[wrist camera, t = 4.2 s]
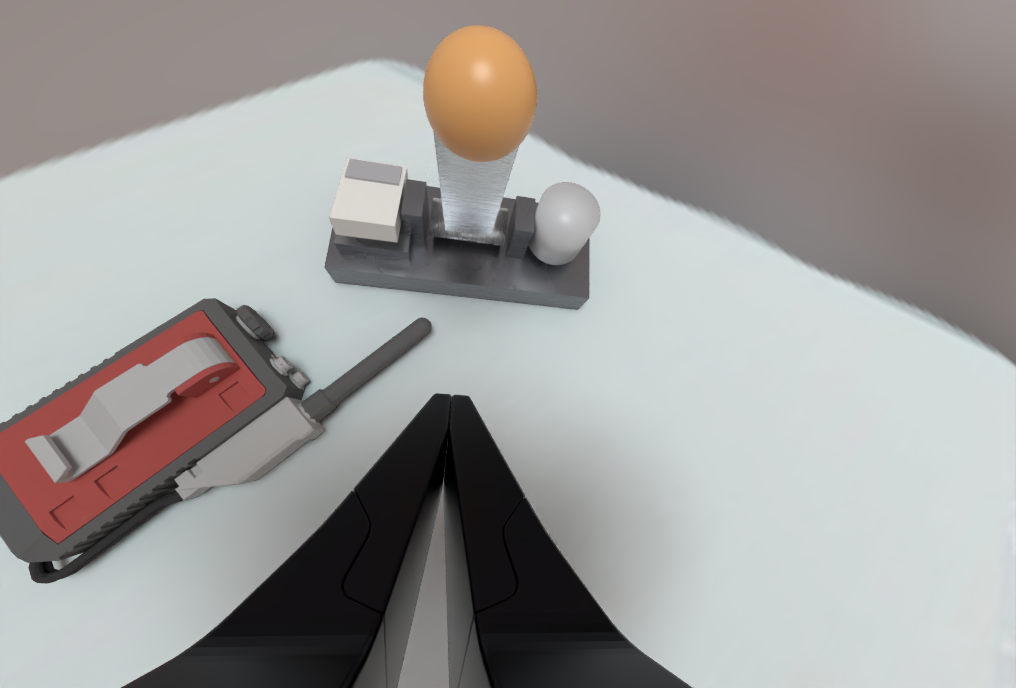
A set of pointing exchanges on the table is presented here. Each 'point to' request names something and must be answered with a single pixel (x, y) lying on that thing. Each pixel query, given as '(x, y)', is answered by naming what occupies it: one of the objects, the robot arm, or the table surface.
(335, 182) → the table surface
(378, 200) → the white block
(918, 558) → the table surface
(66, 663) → the table surface
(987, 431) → the table surface
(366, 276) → the slide switch base
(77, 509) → the walkie-talkie
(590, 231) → the push button
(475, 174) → the ball-topped post
